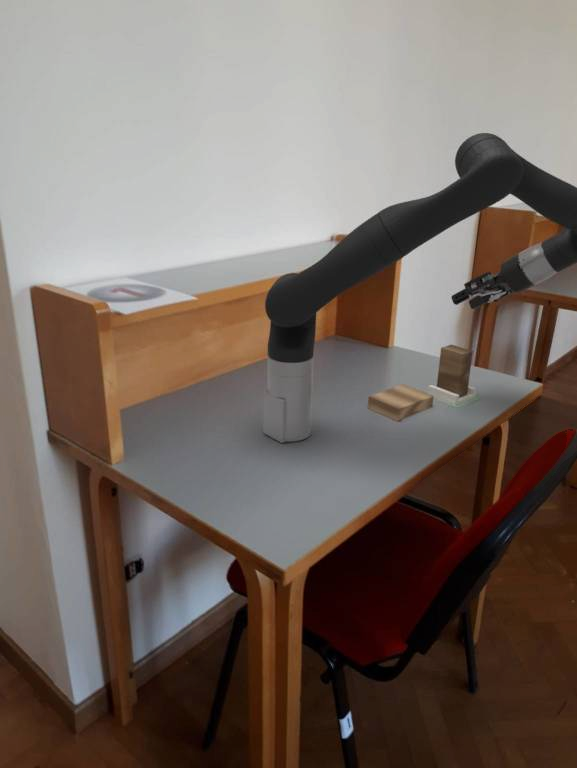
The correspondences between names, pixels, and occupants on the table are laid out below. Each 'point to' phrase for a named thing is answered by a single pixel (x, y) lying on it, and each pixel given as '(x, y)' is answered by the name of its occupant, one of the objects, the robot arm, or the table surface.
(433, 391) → the rack
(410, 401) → the flat wooden block
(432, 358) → the table surface
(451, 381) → the tall wooden pillar
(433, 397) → the mat
